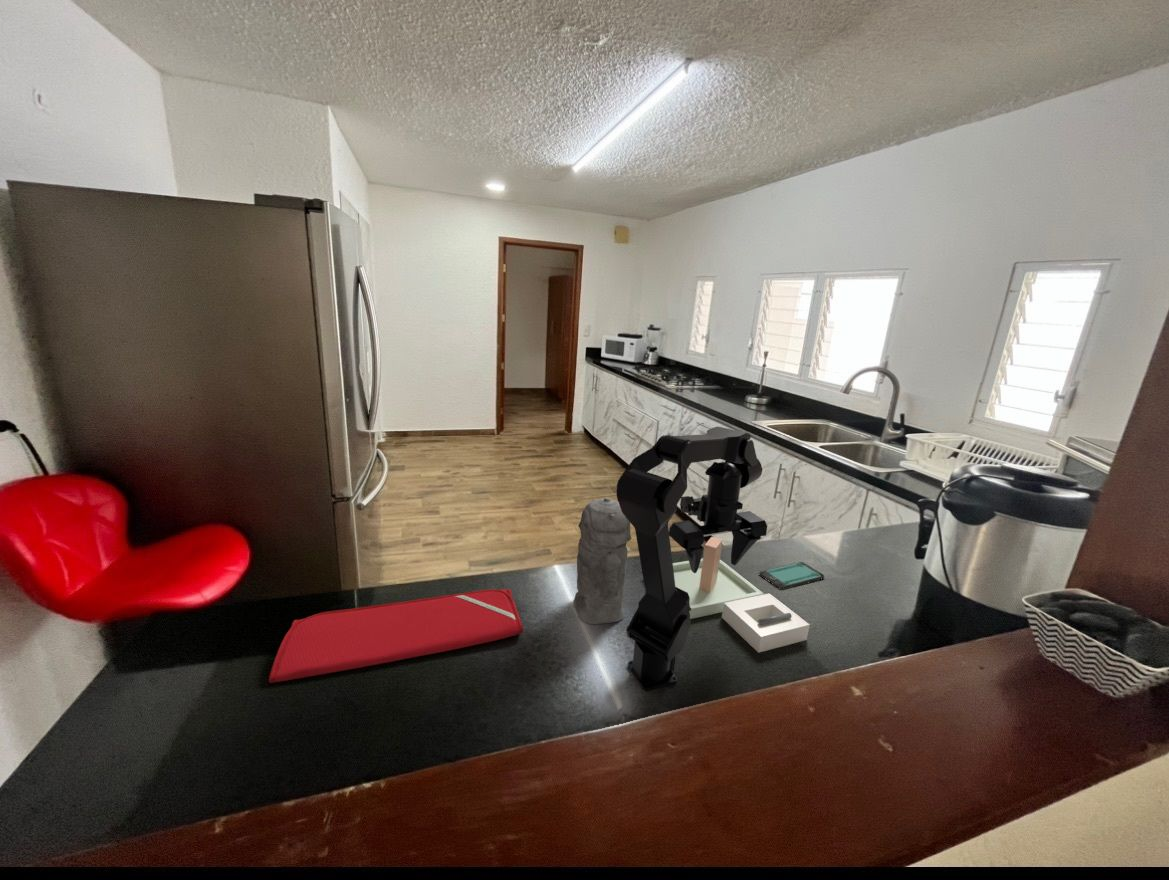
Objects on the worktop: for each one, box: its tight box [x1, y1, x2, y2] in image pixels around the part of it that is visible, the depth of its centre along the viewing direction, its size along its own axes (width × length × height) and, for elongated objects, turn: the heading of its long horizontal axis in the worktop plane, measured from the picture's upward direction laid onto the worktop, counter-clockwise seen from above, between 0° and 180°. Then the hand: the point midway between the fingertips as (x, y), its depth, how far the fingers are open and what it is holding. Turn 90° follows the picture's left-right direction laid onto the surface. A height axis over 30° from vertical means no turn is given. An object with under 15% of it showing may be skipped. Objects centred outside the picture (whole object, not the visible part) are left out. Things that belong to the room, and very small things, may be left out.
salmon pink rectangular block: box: [699, 536, 723, 592], centre depth 105 cm, size 5×2×11 cm, turn 148°
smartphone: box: [758, 561, 825, 590], centre depth 114 cm, size 7×1×15 cm
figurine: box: [572, 497, 632, 625], centre depth 94 cm, size 10×14×25 cm
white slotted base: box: [721, 593, 811, 653], centre depth 93 cm, size 12×11×4 cm
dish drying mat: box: [268, 588, 524, 684], centre depth 86 cm, size 16×41×4 cm, turn 109°
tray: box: [673, 557, 765, 620], centre depth 106 cm, size 20×17×2 cm
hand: (713, 568), depth 90 cm, fingers open, 9 cm apart
